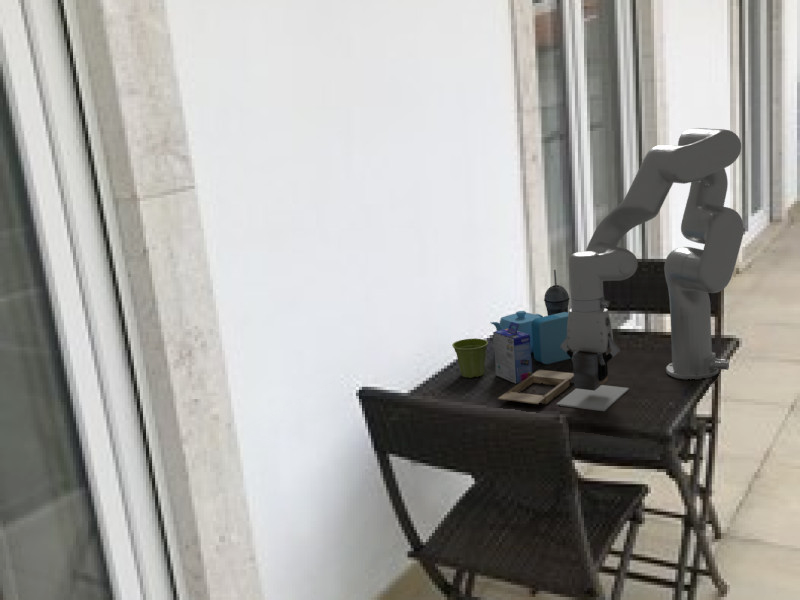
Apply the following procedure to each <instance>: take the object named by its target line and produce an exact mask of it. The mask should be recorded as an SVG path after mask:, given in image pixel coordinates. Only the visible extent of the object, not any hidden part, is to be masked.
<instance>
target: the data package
mask: <svg viewBox="0 0 800 600" xmlns="http://www.w3.org/2000/svg"><path fill="white" fill-rule="evenodd" d="M568 315H569V312H568V313H567V312H562V313H558V314H553V315H549V316H548V315H545V316H543V317H540V318H536V319H534V320H533V321H532V324H531V326H532V339H533V358H534V360H535V361H537V362H540V363H541V364H544V365H551V364H554V363H559V362H562V361H566V360H570V359H571V358H570V356H569V355H568V354H567V352H565V351H564V350H563V349H562V348H561V347H560V346H561V344H562V343H563V342H564V340H565V339H566V338H567V322H568ZM571 360H572V359H571Z"/></svg>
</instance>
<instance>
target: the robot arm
mask: <svg viewBox="0 0 800 600" xmlns="http://www.w3.org/2000/svg"><path fill="white" fill-rule="evenodd" d="M741 151H742V143H741V139H740V137H739V136H738V135H737V133H735V132H734V131H732V130H729V129H724V128H721V129H720V128H704V127H703V128H701V127H696V128H690V129H687V130H685V131H683V132H682V133H681V134H680V136H679V138H678V143H677V145H670V144H662V145H661V144H659V145H656V146H654V147H652V148H650V149H649V150H648V151H647V153H646V155H645V157H644V159H643V160H642V163H641V165H640V167H639V169H638V170H637V173H636V175H635V177H634V179H633V181H632V183H631V185H630V187H629V189H628V191H627V193H626V194H625V197H624V199H623V200H622V201H621V203H619V204H618V205H617V206H615V207H614V209H612V210H611V211H610V212H609V213H608V214H607V215H606V216H605V217H604V218H603V219H602V220H601V221H600V223H599V224H598V225H597V227H596V228H595V230H594V232H593V234H592V236H591V238H590V240H589V242H588V244H587V247H586V249H585V250H582V251H577V252H574V253H572V254H570V256H569V258H568V269H569V270H568V272H569V274H568V275H569V288H570V307H571V308H570V309H568V313H569V315H568V322H567V338H566V339H565V340H564V342H563V343H562V344H561V346H560V347H561V348H562V349H563V350H564V351H565V352H567V354H568V355H569V356H570V358H571V361H572V362H573V355H574V354H576V353H577V352H578V353H579V352H580V351H581V352H592V353H597V355H598V359H599V362H600V364H599V365H598V375H599V381H603V380H604V379H605V378H606V377H607V375H608V376H609V374H608V373H609V369H608V362H609V361H611V360H612V359H613V357H615V356H616V355H617V354H619V353H620V352H621V348H620V347H619V346H618V344H616V342H615V341H614V335H613V328H612V327H613V326H612V321H611V317H610V313H609V309H608V308H606V307H609V306H610V300H605V296H604V283H603V282H611V281H612V282H613V281H624V280H627V279H629V278H630V277H633V275H635V273H636V272H637V269H638V265H639V264H638V259H637V257H636V255H635V253H634V252H632V251H631V250H629V249H627V248H623V247H620V246H618V245H619V244H620V241H621V240H622V239H623V238H624V237H625V235H626V234H627V233H628V232H629V231H631V230H633V228H635V227H638V226H640V225H642V224H645V223H647V222H649V221H651V220H653V219H654V218H656V217H657V216H658V215H659V213H660V211H661V208H662V207H663V204H664V202H665V200H666V198H667V196H668V195H669V192H670V190H671V188H672V187H673V184H681V185H682V184H690V187H689V192H688V196H687V200H686V204H685V207H684V211H683V215H682V219H681V223H680V230H681V234H682V236H683V237H684V238H685V239H687V240H688V241H690V242H693V243H697V244H702V245H704V246H703V249H701V248H696V247H693V246H691V247H690V246H682V247H677V248H675V249H674V248H673V250H672V251H670V253H669V254H667V256H666V259H665V260H664V267H663V269H664V277H665V282H666V284H667V288H668V289H667V290H668V296H669V311H670V312H669V313H670V335H671V336H670V338H671V339H670V341H671V343H670V344H671V361H672V362H671V363H669V364H668V365H666V366H665V370H666V371H665V372H666V374H668V376H671V377H673V378H675V379H680V380H688V379H690V380H691V379H695V380H703V379H702V378H705V379H709V378H713V377H714V376H716V375H718V374H719V372H720V370H726V371H727V370H729V369H730V362H729V361H728V359H726V358H718V357H716V356H717V355H716V352H713V351H712V321H711V320H712V319H711V312H712V311H711V300H710V295H709V294H715V293H720V292H721V291H723V290H724V289H726V288H727V286H728V285H729V283H730V281H731V279H732V276H733V275H734V270H735V267H736V263H737V260H738V256H739V253H740V249H741V245H742V241H743V237H744V223H743V222H744V221H743V219H742V216H741V215H740V213H739V212H737V211H736V210H735V209H733V208H731V207H728V206H727V207H726V206H725V201H726V197H727V191H728V185H729V182H728V176H727V172H726V169H725V168H727V167H729V166H731V165H732V164H734V163H735V162H736V161H737V160H738V159H739V156H740V155H741ZM608 349H610V352H609V353H608V352H607V350H608Z"/></svg>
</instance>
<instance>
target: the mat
mask: <svg viewBox="0 0 800 600" xmlns="http://www.w3.org/2000/svg"><path fill="white" fill-rule="evenodd" d="M629 390H630V388H629V387H625V386H623V387H621V386H614V385H605V384H602V385H601V386H600V387H599V388H597V389H596V390H595V391H593V390H585V389H577V388H574V390H572V391H571V392H569V393H568V394H567V395H566V396H564V397H563V398H562V399H561V400H559V401H558V402H556V406H559V405H560V406H561V407H569V408H575V409H576V408H577V409H583V410H584V409H585V410H590V411H591V410H592V411H601V412H605V411H606V410H607V409H609V408H610V407H611V406H612V405H613V404H614V403H615V402H617V401H618V400H619V399H621V397H622V396H624V394H626V393H627V392H628V391H629Z"/></svg>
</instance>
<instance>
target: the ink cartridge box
mask: <svg viewBox="0 0 800 600" xmlns="http://www.w3.org/2000/svg"><path fill="white" fill-rule="evenodd" d="M513 325H514V326H515V327H516V329H513V328H511V326H513ZM518 328H519V324H517V323H514V322H511V324H510V326H509V328H508V329H503V330H499V331H497V330H495V331H493V332H492V333H493V346H494V347H493V348H494V350H493V351H494V362H495V376H497V377H500V378H502V379H504V380H506V381H509V382H511V383H514V384H516V385H518V384H519V383H520V382H522V381H523V380H525V379H526V378H528V377H529V376H530V375H532V374H533V366H532V353H531V347H530V335H529V334H526V333H522V332H519V331H517V330H518Z"/></svg>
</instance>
